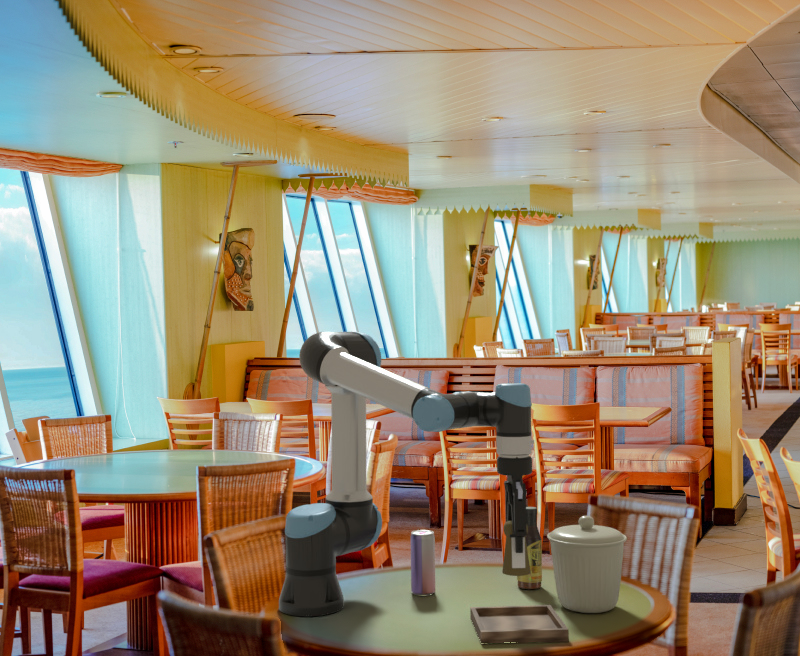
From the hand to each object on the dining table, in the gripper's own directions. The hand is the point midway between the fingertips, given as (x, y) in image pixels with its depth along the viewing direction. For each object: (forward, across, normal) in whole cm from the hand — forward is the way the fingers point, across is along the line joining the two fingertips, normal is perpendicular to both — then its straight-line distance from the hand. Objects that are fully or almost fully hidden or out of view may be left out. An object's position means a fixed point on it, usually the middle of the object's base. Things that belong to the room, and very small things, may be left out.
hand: (516, 564), depth 196 cm
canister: (+14, +15, -19) cm, 28 cm away
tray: (+14, 0, 0) cm, 14 cm away
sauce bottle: (+14, +34, -9) cm, 38 cm away
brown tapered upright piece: (+2, 0, 0) cm, 2 cm away
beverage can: (+14, +31, +18) cm, 38 cm away
